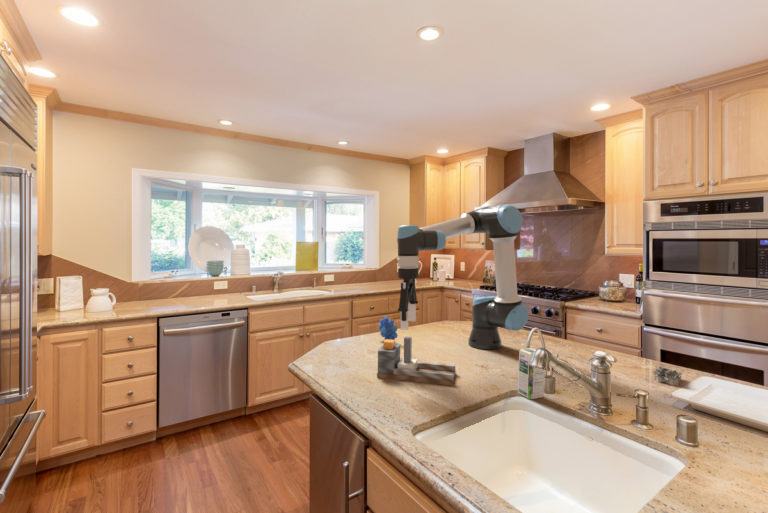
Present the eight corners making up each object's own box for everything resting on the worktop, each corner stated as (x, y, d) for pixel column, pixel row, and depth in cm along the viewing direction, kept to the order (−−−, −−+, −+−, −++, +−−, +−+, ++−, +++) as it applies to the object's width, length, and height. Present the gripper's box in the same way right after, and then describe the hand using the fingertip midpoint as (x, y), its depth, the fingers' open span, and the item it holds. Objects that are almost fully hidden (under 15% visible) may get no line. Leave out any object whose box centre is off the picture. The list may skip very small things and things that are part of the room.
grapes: (372, 341, 184) (373, 316, 184) (382, 338, 189) (382, 314, 189) (391, 345, 176) (391, 320, 176) (400, 342, 182) (400, 318, 181)
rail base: (455, 373, 140) (455, 348, 140) (452, 385, 129) (452, 358, 128) (385, 366, 148) (385, 342, 147) (376, 377, 136) (377, 351, 136)
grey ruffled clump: (676, 387, 129) (677, 376, 128) (651, 381, 134) (651, 370, 134) (683, 380, 135) (684, 369, 135) (659, 374, 141) (659, 364, 141)
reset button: (395, 347, 142) (395, 340, 142) (392, 350, 139) (392, 342, 138) (386, 347, 143) (386, 339, 143) (383, 349, 139) (383, 341, 139)
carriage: (417, 367, 142) (417, 335, 141) (413, 373, 135) (414, 340, 134) (401, 365, 143) (402, 334, 143) (397, 372, 137) (397, 339, 136)
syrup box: (517, 393, 123) (518, 349, 122) (531, 390, 125) (532, 347, 124) (530, 400, 117) (531, 354, 117) (544, 397, 120) (545, 352, 119)
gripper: (405, 264, 150) (405, 317, 152) (389, 270, 126) (390, 332, 128) (424, 264, 148) (424, 318, 150) (411, 270, 124) (411, 334, 126)
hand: (408, 325), depth 139 cm, fingers open, 13 cm apart
